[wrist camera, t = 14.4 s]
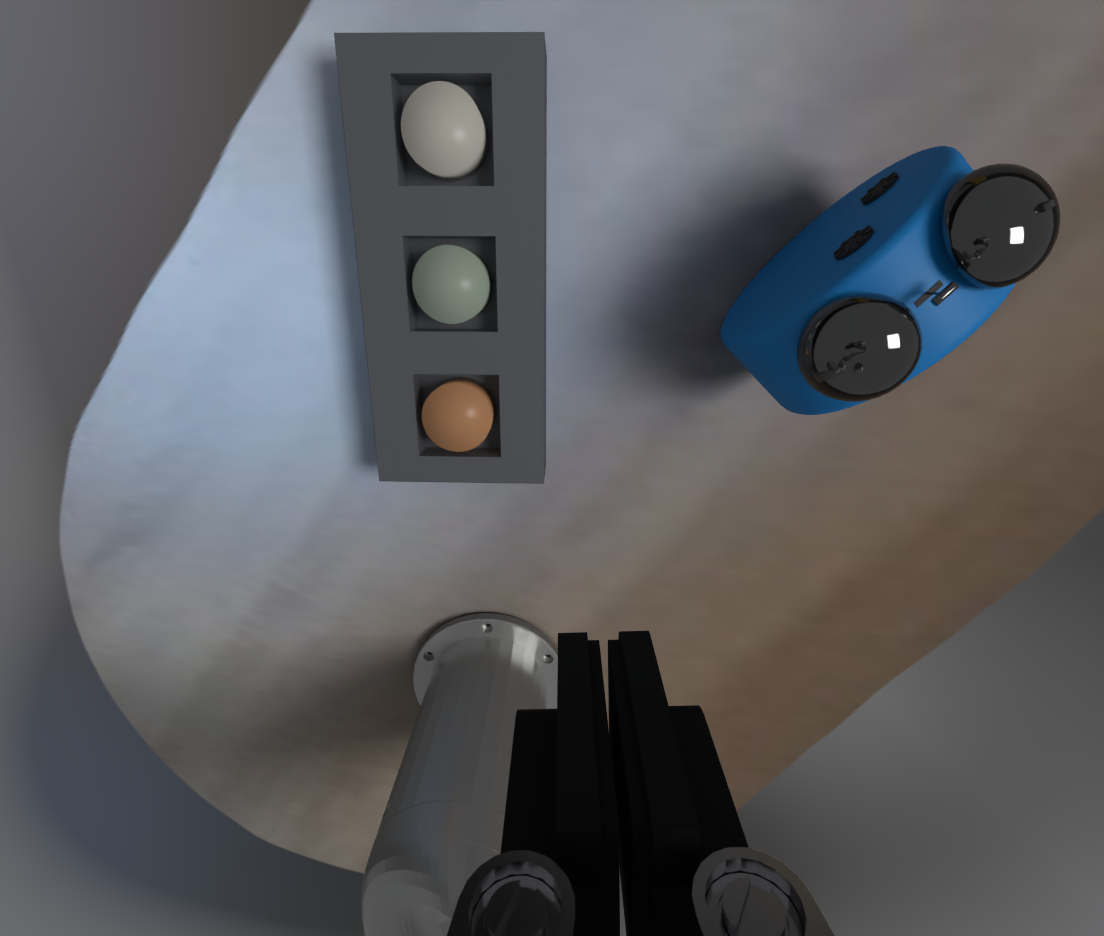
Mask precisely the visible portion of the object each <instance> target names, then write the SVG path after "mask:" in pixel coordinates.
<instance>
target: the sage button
mask: <svg viewBox="0 0 1104 936" xmlns="http://www.w3.org/2000/svg"><path fill="white" fill-rule="evenodd" d="M412 287H413V292H414V296H415V298H416V301H417V303H418V304H419V306H420V307H421V309H422V310H423V311H424V312H425V313H426V314H427V315H428V316H430V317H431V318H433V319H435V320H437V321H439V322H442V323H446V324H457V323H462V322H465V321H467V320H469V319H472V318H474V317H476V316H477V315H479V314H480V313H481V312H482V311H483V310H484V309H485V308H486V306H487V305H488V303H489V301H490V298H491V295H492V287H493V284H492V277H491V274H490V271H489V269H488V267H487V265H486V263H485V262H484V261H483V260H482V258H481V257H479V256H478V255H477V254H476V253H474V252H473V251H471V250H468V249H466V248H462V247H459V246H454V245H441V246H437V247H434V248H432V249H430V250H428V251H427V252H426V253H424V254H423V255H422V256H421V258H420V259H419V260H418V262H417V264H416V266H415V268H414V272H413V277H412Z"/></svg>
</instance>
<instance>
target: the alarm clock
mask: <svg viewBox="0 0 1104 936" xmlns="http://www.w3.org/2000/svg"><path fill="white" fill-rule="evenodd" d="M1059 226H1060V208H1059V204H1058V200H1057V197H1056V195H1055V193H1054V191H1053V190H1052V188H1051V187H1050V185H1049V184H1048V183H1047V182H1046V181H1045V180H1044V178H1042V177H1041V176H1040V175H1039V174H1038V173H1036V172H1034V171H1032V170H1030V169H1028V168H1026V167H1023V166H1020V165H1015V164H994V165H988V166H985V167H982V168H979V169H977V170H974V171H973V169H972V168H971V167H970V165H969V164H968V163H967V161H966V160H965V159H964V157H963V156H962V155H961V153H960V152H959V151H957V150H956V149H954V148H952V147H947V146H939V147H933V148H929V149H926V150H923V151H920V152H917V153H915V154H912V155H910V156H908V157H906V158H904V159H902V160H900V161H898V162H896V163H894V164H893V165H891V166H889V167H887V168H886V169H884V170H882V171H881V172H879V173H877V174H876V175H874V176H873V177H871V178H870V179H868V180H867V181H865V182H864V183H862V184H861V185H859V186H858V187H856V188H855V189H854V190H852V191H851V192H849V193H848V194H847V195H845V196H844V197H843V198H841V199H840V200H839V201H837V202H836V203H835V204H833V205H832V206H831V207H830V208H828V209H827V210H826V211H825V212H823V213H822V214H821V215H820V216H818V217H817V218H816V219H815V220H814V221H812V222H811V223H810V224H809V225H808V226H806V227H805V228H804V229H803V230H802V231H801V232H800V233H798V234H797V235H796V236H795V237H794V238H793V239H792V240H791V241H790V242H789V243H787V244H786V245H785V246H784V247H783V248H782V249H781V250H780V251H779V252H778V253H777V254H776V255H775V256H774V257H773V258H772V259H771V260H770V261H769V262H768V263H767V264H766V265H765V266H764V267H763V268H762V269H761V270H760V271H759V273H758V274H757V275H756V276H755V277H754V278H753V279H752V280H751V282H750V283H749V284H748V285H747V286H746V288H745V289H744V290H743V291H742V293H741V294H740V295H739V296H738V298H737V299H736V301H735V302H734V304H733V305H732V307H731V308H730V310H729V312H728V313H727V315H726V317H725V319H724V322H723V325H722V329H721V339H722V342H723V343H724V345H725V346H726V347H727V348H728V350H729V351H730V352H731V353H732V354H733V355H734V356H735V357H736V358H737V359H738V360H739V361H740V362H741V363H742V364H743V365H744V367H745V368H746V369H747V370H748V371H749V372H750V373H751V374H752V375H753V376H754V377H755V378H756V379H757V380H758V381H759V382H760V384H761V385H762V386H763V387H764V388H765V389H766V390H767V391H768V392H769V393H770V394H771V395H772V396H773V397H774V398H775V400H776V401H777V402H778V403H779V404H780V405H781V406H783V407H784V408H785V409H787V410H789V411H791V412H794V413H798V414H805V415H817V414H825V413H830V412H835V411H839V410H842V409H846V408H849V407H852V406H855V405H858V404H860V403H863V402H865V401H868V400H871V399H874V398H878V397H880V396H882V395H885V394H887V393H889V392H891V391H892V390H894V389H895V388H897V387H898V386H900V385H901V384H903V383H904V382H906V381H908V380H910V379H911V378H913V377H915V376H916V375H918V374H920V373H921V372H923V371H924V370H926V369H927V368H929V367H930V366H932V365H933V364H935V363H936V362H938V361H939V360H940V359H942V358H943V357H944V356H946V355H947V354H948V353H950V352H951V351H952V350H954V349H955V348H956V347H957V346H959V345H960V344H961V343H962V342H963V341H965V340H966V339H967V338H968V337H969V336H970V335H971V334H972V333H974V332H975V331H976V330H977V329H978V328H979V327H980V326H981V325H982V324H983V323H984V322H985V321H986V320H987V319H988V318H989V317H990V316H991V315H992V313H993V312H994V311H995V310H996V309H997V308H998V307H999V306H1000V304H1001V303H1002V302H1003V301H1004V299H1005V298H1006V297H1007V295H1008V294H1009V293H1010V291H1011V290H1012V288H1013V287H1014V285H1015V283H1016V282H1019V281H1021V280H1023V279H1025V278H1026V277H1027V276H1029V275H1030V274H1031V273H1033V272H1034V271H1035V270H1036V269H1038V268H1039V267H1040V265H1041V264H1042V263H1043V262H1044V261H1045V259H1046V258H1047V257H1048V256H1049V254H1050V252H1051V250H1052V248H1053V246H1054V244H1055V242H1056V240H1057V237H1058V233H1059Z"/></svg>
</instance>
